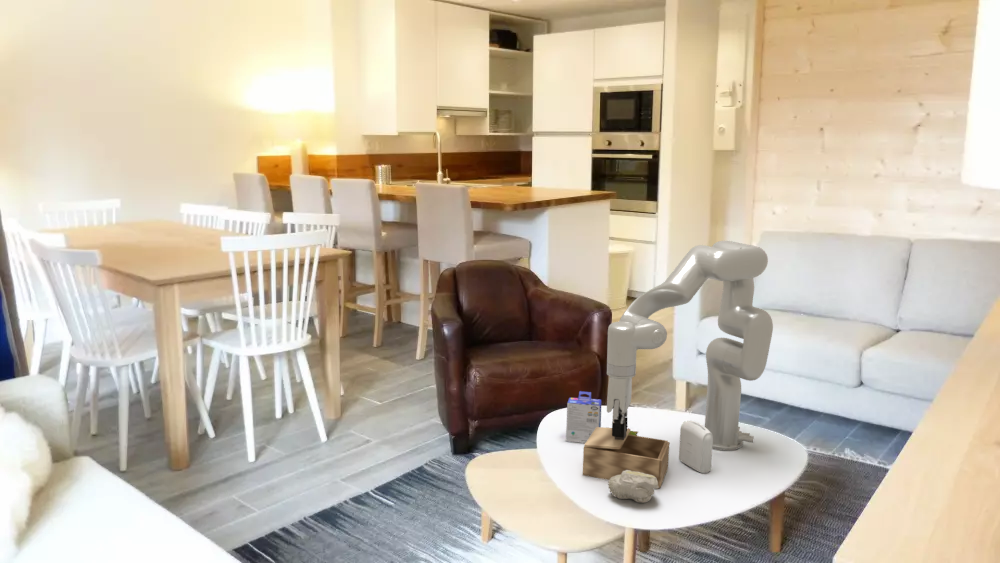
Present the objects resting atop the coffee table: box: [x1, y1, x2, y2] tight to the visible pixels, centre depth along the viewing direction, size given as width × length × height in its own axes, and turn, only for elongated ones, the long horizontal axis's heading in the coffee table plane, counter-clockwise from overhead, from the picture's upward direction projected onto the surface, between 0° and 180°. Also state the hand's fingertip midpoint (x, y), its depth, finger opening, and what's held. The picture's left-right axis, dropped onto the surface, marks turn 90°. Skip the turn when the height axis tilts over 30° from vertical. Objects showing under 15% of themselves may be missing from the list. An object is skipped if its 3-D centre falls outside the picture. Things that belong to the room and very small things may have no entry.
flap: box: [583, 411, 631, 449], centre depth 203 cm, size 10×13×8 cm
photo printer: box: [678, 420, 713, 474], centre depth 206 cm, size 10×4×12 cm, turn 26°
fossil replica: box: [607, 470, 660, 504], centre depth 188 cm, size 12×8×10 cm
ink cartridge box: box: [565, 390, 602, 444], centre depth 222 cm, size 10×6×14 cm, turn 79°
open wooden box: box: [582, 435, 670, 490], centre depth 203 cm, size 21×13×8 cm, turn 69°
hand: (619, 433), depth 202 cm, fingers closed on flap, 3 cm apart
